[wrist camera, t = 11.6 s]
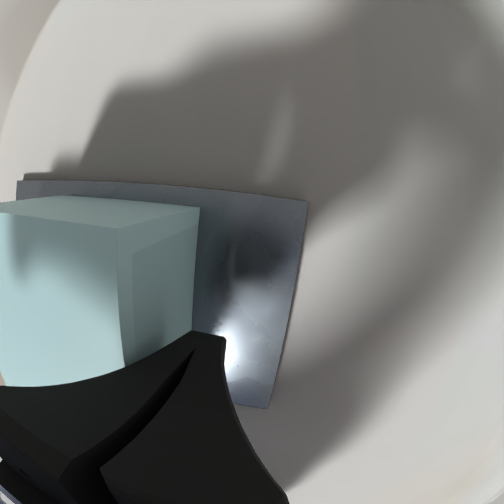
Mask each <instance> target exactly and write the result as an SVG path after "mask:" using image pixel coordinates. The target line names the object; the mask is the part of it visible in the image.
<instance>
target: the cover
mask: <svg viewBox="0 0 504 504" xmlns="http://www.w3.org/2000/svg"><path fill="white" fill-rule="evenodd" d="M199 215H200V207H191V206H182V205H173V204H163V203H153V202H143V201H132V200H121V199H108V198H95V197H81V196H65V195H62V196H51V197H42V198H33V199H25V200H17V201H10V202H3V203H0V372H1V374H2V377H3V379H4V381H5V384H6V386H20V387H36V386H50V385H59V384H66V383H72V382H77V381H81V380H85V379H89V378H93V377H97V376H101V375H104V374H107V373H110V372H113V371H116V370H118V369H121V368H123V367H126V366H128V365H130V364H133V363H135V362H137V361H139V360H141V359H143V358H145V357H147V356H149V355H151V354H153V353H154V352H156V351H158V350H160V349H161V348H163V347H165V346H167V345H168V344H170V343H171V342H173V341H175V340H176V339H178V338H179V337H181V336H183V335H184V334H186V333H187V332H189V331H191V330H192V308H193V290H194V274H195V260H196V248H197V236H198V225H199Z"/></svg>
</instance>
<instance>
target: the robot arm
mask: <svg viewBox="0 0 504 504" xmlns="http://www.w3.org/2000/svg"><path fill="white" fill-rule="evenodd" d="M226 343H227V340H226V338H225V337H224V336H218V335H213V334H208V333H203V332H198V331H193V330H191V331H189V332H187V333H186V334H184V335H183V336H181V337H179V338H178V339H176V340H175V341H173V342H171V343H170V344H168V345H167V346H165V347H163V348H161V349H160V350H158V351H156V352H154V353H153V354H151V355H149V356H147V357H145V358H143V359H141V360H139V361H137V362H135V363H133V364H130V365H128V366H126V367H123V368H121V369H118V370H116V371H113V372H110V373H107V374H104V375H101V376H97V377H93V378H89V379H85V380H81V381H77V382H72V383H66V384H59V385H50V386H36V387H20V386H0V457H1V458H2V459H3V460H2V461H1V462H0V491H1V492H2V493H3V494H4V495H6V496H7V497H8V498H9V499H10V500H11V501H12V502H14V503H15V504H289V501H288V498H287V495H286V493H285V492H284V491H283V490H282V489H281V487H280V486H279V485H278V484H277V483H276V481H275V480H274V479H273V477H272V476H271V475H270V473H269V472H268V471H267V469H266V468H265V466H264V465H263V463H262V462H261V460H260V459H259V457H258V456H257V454H256V453H255V451H254V449H253V447H252V445H251V443H250V442H249V440H248V438H247V436H246V434H245V432H244V430H243V428H242V426H241V424H240V421H239V419H238V416H237V414H236V411H235V408H234V406H233V403H232V399H231V396H230V392H229V388H228V384H227V379H226V373H225V366H224V362H225V353H226ZM0 504H6V503H5V502H4V501H3V500H2V499H1V498H0Z"/></svg>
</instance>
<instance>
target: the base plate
mask: <svg viewBox="0 0 504 504" xmlns="http://www.w3.org/2000/svg"><path fill="white" fill-rule="evenodd" d="M62 195H65V196H81V197H95V198H108V199H121V200H132V201H143V202H153V203H163V204H173V205H182V206H191V207H200V215H199V225H198V236H197V248H196V260H195V274H194V290H193V308H192V330H193V331H198V332H203V333H208V334H213V335H218V336H224V337H225V338H226V340H227V343H226V353H225V362H224V366H225V373H226V379H227V384H228V388H229V392H230V396H231V399H232V403H233V404H237V405H243V406H249V407H256V408H263V409H268V407H269V403H270V399H271V394H272V390H273V386H274V382H275V378H276V373H277V369H278V364H279V360H280V355H281V351H282V346H283V341H284V337H285V332H286V327H287V322H288V317H289V312H290V307H291V302H292V297H293V291H294V286H295V280H296V275H297V269H298V263H299V258H300V252H301V246H302V240H303V233H304V227H305V221H306V214H307V207H308V202H306V201H299V200H293V199H286V198H279V197H272V196H265V195H257V194H250V193H241V192H233V191H224V190H215V189H206V188H195V187H185V186H173V185H160V184H146V183H130V182H110V181H79V180H22V181H17V190H16V201H17V200H25V199H33V198H42V197H51V196H62Z"/></svg>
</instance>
